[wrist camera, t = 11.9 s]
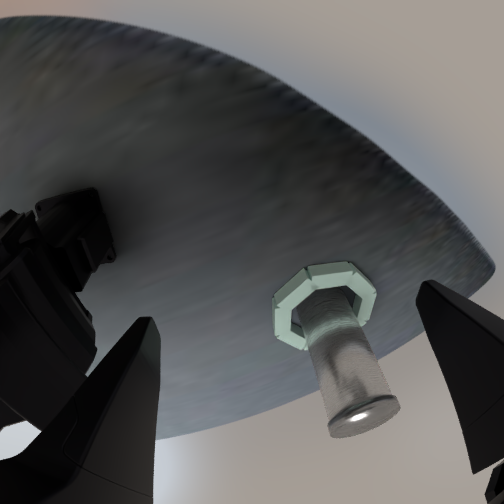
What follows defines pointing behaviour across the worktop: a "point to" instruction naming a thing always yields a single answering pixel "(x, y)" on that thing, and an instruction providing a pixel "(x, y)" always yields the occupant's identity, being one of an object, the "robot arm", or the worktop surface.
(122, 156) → the worktop surface
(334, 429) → the glass jar
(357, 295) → the collar ring
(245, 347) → the worktop surface
